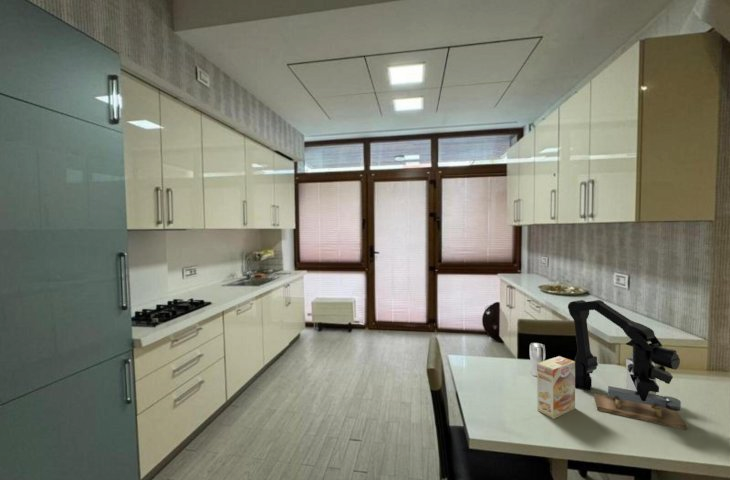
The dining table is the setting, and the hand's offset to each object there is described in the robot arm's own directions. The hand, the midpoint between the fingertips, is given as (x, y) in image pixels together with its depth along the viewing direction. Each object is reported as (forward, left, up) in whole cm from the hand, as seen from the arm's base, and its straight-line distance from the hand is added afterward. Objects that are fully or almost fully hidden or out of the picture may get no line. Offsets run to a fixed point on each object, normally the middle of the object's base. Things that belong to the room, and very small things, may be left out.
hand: (642, 398), depth 123 cm
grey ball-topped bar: (0, 0, -1) cm, 1 cm away
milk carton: (+2, +14, -6) cm, 15 cm away
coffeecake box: (-29, -13, -6) cm, 32 cm away
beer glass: (-37, +18, -6) cm, 41 cm away
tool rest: (-2, 0, -6) cm, 6 cm away
